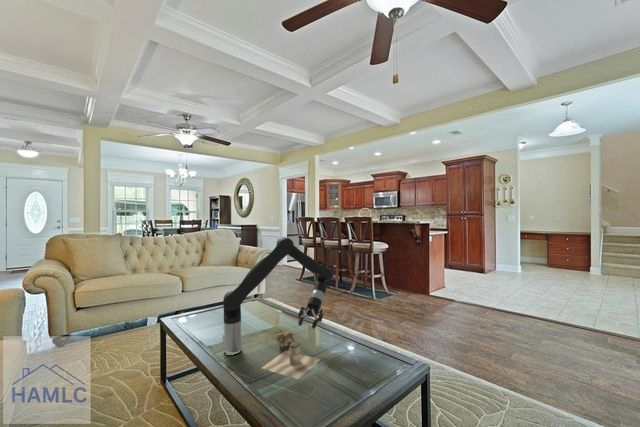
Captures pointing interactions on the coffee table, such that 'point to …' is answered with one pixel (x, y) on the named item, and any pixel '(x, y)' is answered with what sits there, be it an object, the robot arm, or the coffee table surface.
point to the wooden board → (290, 365)
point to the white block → (294, 353)
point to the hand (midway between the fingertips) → (306, 326)
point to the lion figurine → (284, 338)
